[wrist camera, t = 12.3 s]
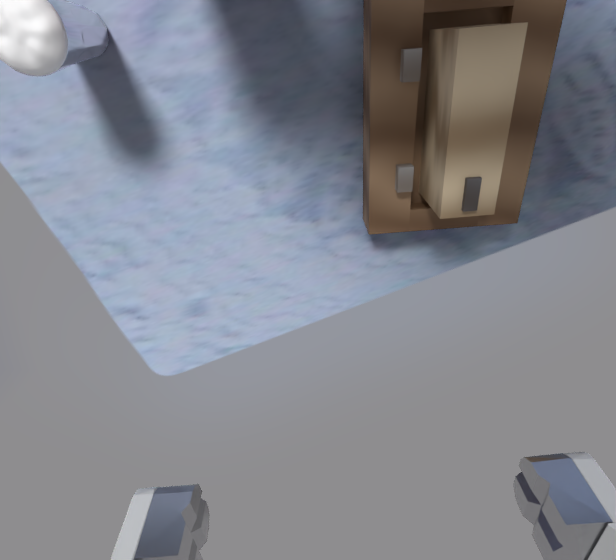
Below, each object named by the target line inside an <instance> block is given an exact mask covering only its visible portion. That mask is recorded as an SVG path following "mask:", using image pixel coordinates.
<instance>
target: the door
mask: <svg viewBox="0 0 616 560" xmlns="http://www.w3.org/2000/svg"><path fill="white" fill-rule="evenodd" d="M527 26H528V22H525V23H505V24H485V25H474V26H464V27H453V28H442V29H432V30H430V33H429V48H428V63H427V77H426V92H425V107H424V121H423V136H422V151H421V165H420V180H419V193H420V194H421V195H422V197H423V198H424V199H425V201H426V202H427V203H428V204H429V206H430V207H431V208H432V209H433V211H434V212H435V213H436V214H437V216H438V217H439V218H440V219H446V218H458V217H470V216H481V215H493V214H494V212H495V207H496V201H497V196H498V190H499V184H500V179H501V173H502V167H503V162H504V156H505V150H506V145H507V139H508V133H509V128H510V122H511V116H512V111H513V105H514V99H515V94H516V88H517V82H518V77H519V71H520V65H521V60H522V54H523V48H524V43H525V37H526V31H527Z"/></svg>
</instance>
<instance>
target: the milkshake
mask: <svg viewBox="0 0 616 560" xmlns="http://www.w3.org/2000/svg"><path fill="white" fill-rule="evenodd" d="M108 44H109V41H108V32H107V27H106V25H105V24H104V23H103V21H102V20H101V18H100V17H99V15H98V14H97V13H96V12H94V11H92V10H90V9H88V8H86V7H84V6H82V5H79V4H76V3H73V2H69V1H66V0H0V59H1V60H2V61H3V62H4V63H6V64H7V65H9V66H10V67H11V68H13V69H14V70H16V71H18V72H20V73H22V74H26V75H30V76H46V75H50V74H52V73H55V72H57V71H60V70H62V69H64V68H67V67H69V66H71V65H74V64H76V63H79V62H82V61H85V60H88V59H91V58H94V57H97V56H100V55H102V54H103V52H104V51H105V49H106V47H107V46H108Z"/></svg>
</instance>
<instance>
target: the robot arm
mask: <svg viewBox="0 0 616 560" xmlns="http://www.w3.org/2000/svg"><path fill="white" fill-rule="evenodd" d="M519 467H520V469H521V471H522V472H521V473H519V474H518V475H517V476H515V480H514V492H515V497H516V500H517V503H518V506H519V508H520V510H521V513H522V515H523V516H524V517H525V518H526V519H527V520H529V521H530V522H531V523H532V524H533V525H534V528H533V534H532V536H533V538H534V540H535V542H536V544H537V546H538V548H539V550H540V552H541V554H542V557H543V559H544V560H616V489H615V487H614V486H613V485H612V483H611V482H610V480H609V479H608V478H607V476H606V475H605V474H604V472H603V471H602V469H601V468H600V467H599V465H598V464H597V462H596V461H595V460H594V458H593V457H592V456H591V455H589V454H588V453H585V452H577V453H566V454H563V453H561V454H551V455H541V456H532V457H524V458H522V459H521V461H520V464H519ZM201 494H202V490H201V488H200V486H199V484H193V485H181V486H169V487H153V488H142V489H137V491H136V493H135V494H134V496H133V497H132V500H131V503H130V506H129V509H128V511H127V514H126V517H125V520H124V523H123V526H122V528H121V531H120V534H119V537H118V540H117V543H116V545H115V548H114V551H113V554H112V557H111V560H203V559H202V557H201V554H200V552H199V550H200V549H201V548H202V546H203V545H204V544H205V543H206V541H207V537H208V530H209V510H208V506H207V503H206V501H205V500H203V499H201Z"/></svg>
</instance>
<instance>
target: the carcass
mask: <svg viewBox="0 0 616 560" xmlns="http://www.w3.org/2000/svg"><path fill="white" fill-rule="evenodd" d="M566 1H567V0H364V43H363V220H364V223H365V225H366V228H367V231H368V233H369V234H381V233H394V232H407V231H421V230H434V229H447V228H460V227H473V226H486V225H499V224H512V223H517V222H518V217H519V213H520V208H521V204H522V199H523V195H524V190H525V186H526V181H527V177H528V172H529V168H530V163H531V159H532V154H533V150H534V145H535V141H536V136H537V132H538V127H539V123H540V118H541V114H542V109H543V105H544V100H545V96H546V91H547V87H548V82H549V78H550V73H551V69H552V64H553V60H554V55H555V51H556V46H557V42H558V37H559V33H560V28H561V24H562V19H563V15H564V10H565V6H566ZM525 22H528V26H527V31H526V37H525V43H524V48H523V54H522V60H521V65H520V71H519V77H518V82H517V88H516V94H515V99H514V105H513V111H512V116H511V122H510V128H509V133H508V139H507V145H506V150H505V156H504V162H503V167H502V173H501V179H500V184H499V190H498V196H497V201H496V207H495V212H494V214H493V215H481V216H470V217H458V218H446V219H440V218H439V217H438V216H437V214H436V213H435V212H434V211H433V209H432V208H431V207H430V206H429V204H428V203H427V202H426V201H425V199H424V198H423V197H422V195H421V194H420V193H419V180H420V165H421V151H422V136H423V121H424V107H425V92H426V77H427V63H428V48H429V33H430V30H432V29H442V28H453V27H464V26H474V25H485V24H505V23H525Z"/></svg>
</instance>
